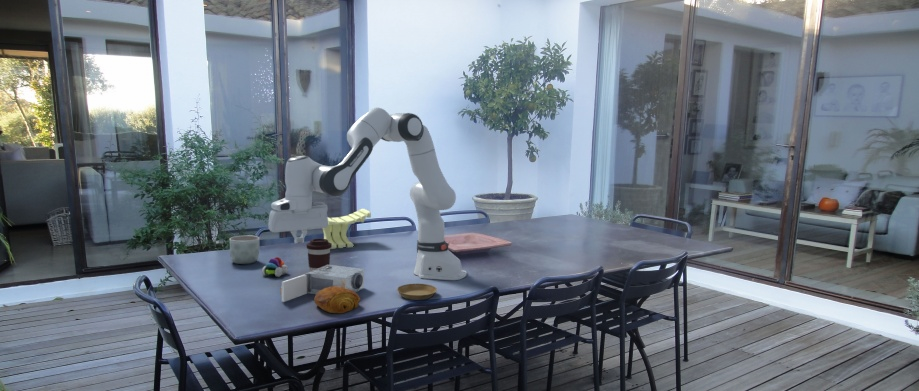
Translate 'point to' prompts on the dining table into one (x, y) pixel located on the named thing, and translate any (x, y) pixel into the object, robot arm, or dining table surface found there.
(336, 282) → the camera housing
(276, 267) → the rainbow toy
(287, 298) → the panel
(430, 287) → the plant saucer
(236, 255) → the planter
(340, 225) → the pale yellow ridged piece
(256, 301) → the dining table surface
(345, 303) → the croissant
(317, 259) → the coffee cup
